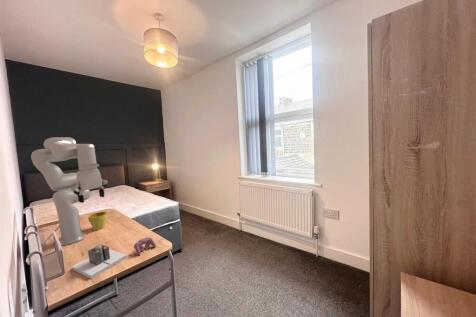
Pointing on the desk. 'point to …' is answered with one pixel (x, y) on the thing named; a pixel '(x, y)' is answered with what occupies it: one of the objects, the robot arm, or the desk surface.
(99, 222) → the plant pot
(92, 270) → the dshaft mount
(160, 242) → the desk surface
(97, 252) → the grey u-shaped bracket
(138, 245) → the video game controller
